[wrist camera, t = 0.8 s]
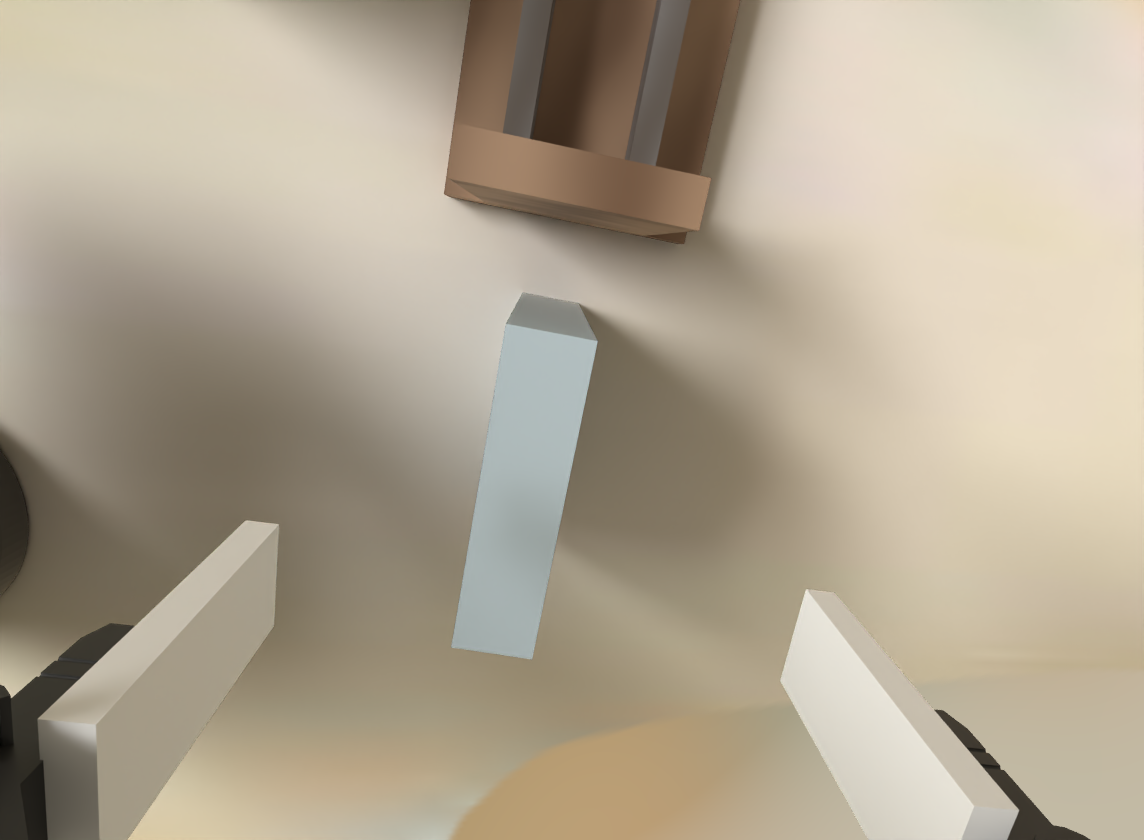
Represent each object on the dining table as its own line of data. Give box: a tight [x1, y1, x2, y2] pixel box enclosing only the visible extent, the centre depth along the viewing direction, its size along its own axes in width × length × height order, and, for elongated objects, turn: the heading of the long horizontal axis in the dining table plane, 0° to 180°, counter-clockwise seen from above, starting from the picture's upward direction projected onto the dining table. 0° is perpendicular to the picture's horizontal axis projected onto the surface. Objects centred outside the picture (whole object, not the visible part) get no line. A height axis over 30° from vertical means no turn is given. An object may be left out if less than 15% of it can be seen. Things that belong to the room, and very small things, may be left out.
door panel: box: [451, 293, 598, 659], centre depth 29 cm, size 3×12×14 cm, turn 169°
